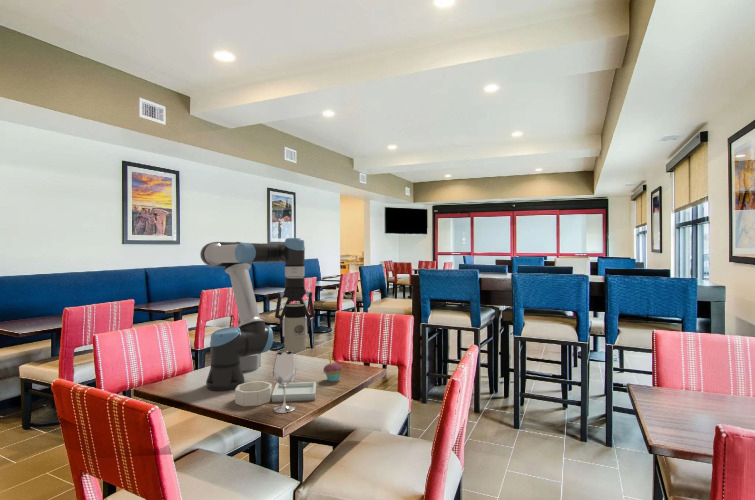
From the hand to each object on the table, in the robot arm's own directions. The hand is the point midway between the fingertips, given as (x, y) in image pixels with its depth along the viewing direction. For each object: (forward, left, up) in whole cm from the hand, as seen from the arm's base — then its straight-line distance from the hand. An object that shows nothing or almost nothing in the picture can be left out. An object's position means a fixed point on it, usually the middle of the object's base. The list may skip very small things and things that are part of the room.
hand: (295, 335), depth 163 cm
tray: (0, 0, -23) cm, 23 cm away
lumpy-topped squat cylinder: (-27, +41, -24) cm, 54 cm away
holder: (-15, -4, -23) cm, 28 cm away
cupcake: (+15, +17, -23) cm, 33 cm away
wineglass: (-3, -15, -23) cm, 28 cm away
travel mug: (0, 0, -6) cm, 6 cm away
